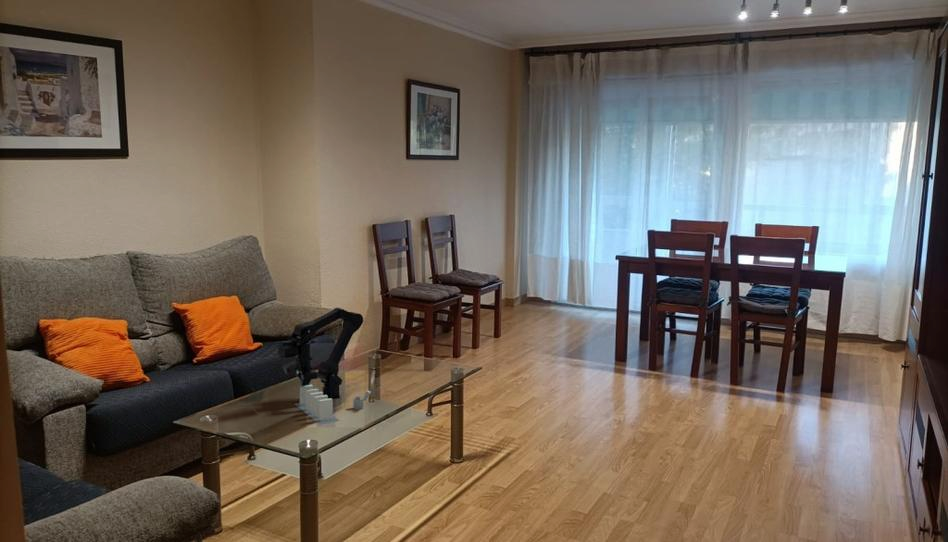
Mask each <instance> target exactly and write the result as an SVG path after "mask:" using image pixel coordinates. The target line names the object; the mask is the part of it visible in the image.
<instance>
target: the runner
mask: <svg viewBox="0 0 948 542" xmlns="http://www.w3.org/2000/svg"><path fill="white" fill-rule="evenodd" d="M294 405H295V406H297V407H298V408H299V409H300V410H301V411H303V413H305V414H306V415H307V416H309V417H310V418H311V419H313V421H315V422H316V423H317V424H319V425H324V424H331V423H335V422H340V420H339V419H338V418H336V416H334V415H333V419H330V420H325V421H320V420H319V417H315V416H314V414H311V413H310V410H306V405H300V402H297V403H294Z"/></svg>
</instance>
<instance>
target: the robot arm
mask: <svg viewBox="0 0 948 542" xmlns="http://www.w3.org/2000/svg"><path fill="white" fill-rule="evenodd" d="M339 319H340V320H342V329H341V332H340V334H339V336H338V338H337V341H336V343H335V345H334V347H333V349H332V351H331V353H330V355H329V357H328V359H326V360H325V361H323V360H322V361H321V362H320V364H319V367H318V368H317V371H315V370H314V369H313V366H312V361H313V357H312V355H311V354H312V352H311V351H312V349H311V348H312V345H311V344H315V343H316V341H315V340H314V339H313V337H314V336H315V335H316V334H317V332H319V330H321V329H323V328H325V327H326V326H329V325H330V324H332V323H334V322H336V321H338V320H339ZM363 323H364V317H363V315H362V314H361V313H358V312H355V311H354V312H353V311H348V310H345V309H343V308H341V307H335V308H333V309H332V310H330V311H328V312H326V313H324V314H322V315H321V316H319V317H317V318H315V319H313V320H310V321H306V322H301V323H298V324H297V325H296V326H295V327H294V329H293V332H292V333H291V335H290V337H289V338H288V340H286V341H280V344H279V346H278V349H277V352H278V353H277V354H278V357H279V358H280V359H288V358H293V357H294V360H293V361H290V362H288V363H286V364H284V365H282V369H283V371H284V374H286V375H287V376H290V375H292V374H293V373H294V375H295V376H296V377H297V378H298V380H299V382H300V386H304V385H310V384H311V381H312V380H316V379H317V380H318V379H320V382H321V383H322V384H323V386H322V388H321V390H322V391H321V392H323V395H327V396H328V399H329V398H331V399H333V400H335V399H336V400H337V399H341V396H340V386H341V385H342V384H343V383H342V382H343V379H342V378H341V377H340V376H339V372H340V369H339V368H340V366H339V365H340V362H341V360H342V358H343V356H344V353H345V351H346V350H347V347H348V345H349V343H350V342H351V339H352V338H353V335H354V334H355V333H356V332H358V330H360V329H361V327H362V325H363Z"/></svg>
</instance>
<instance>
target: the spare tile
mask: <svg viewBox="0 0 948 542" xmlns="http://www.w3.org/2000/svg"><path fill="white" fill-rule="evenodd" d="M311 389H314V385H313V384H311V383H310V384H309V385H304V386H301V385H299V403H300V405H306V399H305V390H311Z"/></svg>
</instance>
